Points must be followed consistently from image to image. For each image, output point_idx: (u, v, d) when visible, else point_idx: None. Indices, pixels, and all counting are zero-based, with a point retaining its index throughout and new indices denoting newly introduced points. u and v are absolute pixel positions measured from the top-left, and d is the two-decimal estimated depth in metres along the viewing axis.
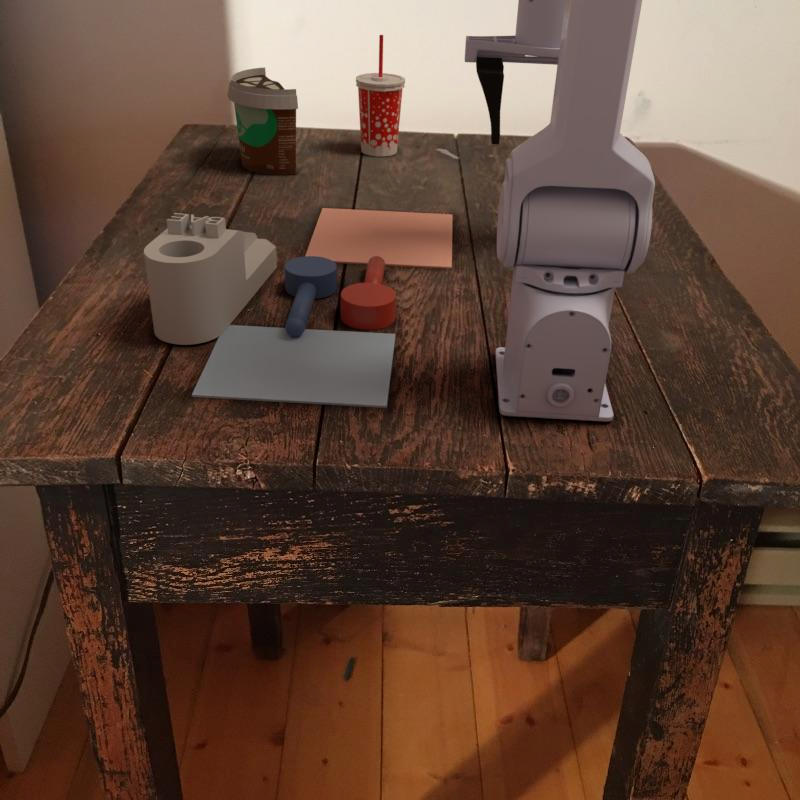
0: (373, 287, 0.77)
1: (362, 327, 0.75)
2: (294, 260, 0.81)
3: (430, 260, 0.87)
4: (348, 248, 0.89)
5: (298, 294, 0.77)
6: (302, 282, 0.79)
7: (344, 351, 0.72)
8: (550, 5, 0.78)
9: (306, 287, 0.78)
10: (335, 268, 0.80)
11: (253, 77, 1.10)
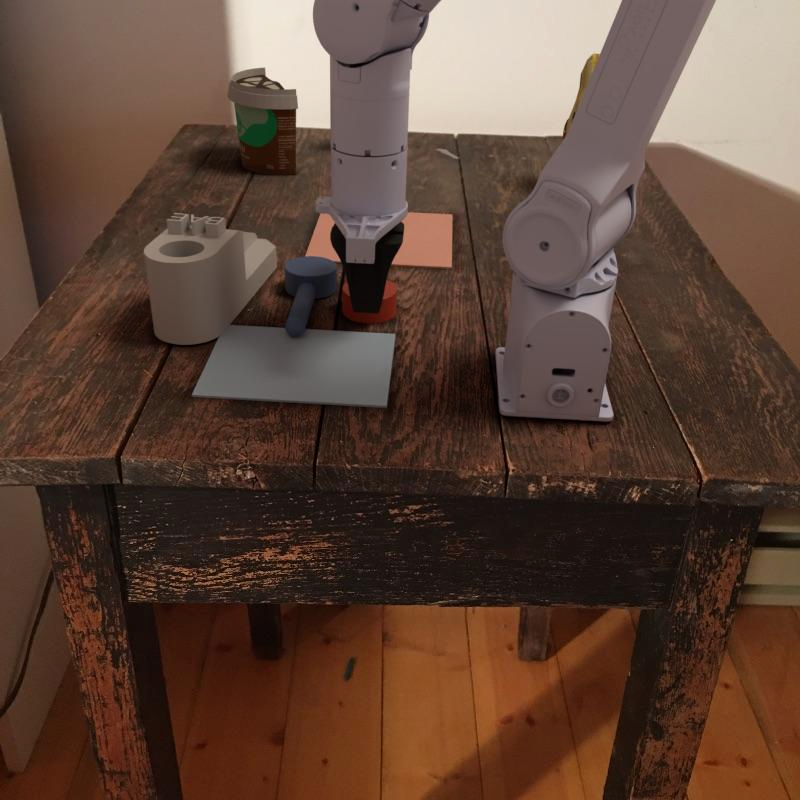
0: None
1: (363, 321, 0.76)
2: (294, 260, 0.81)
3: (430, 260, 0.87)
4: None
5: (298, 294, 0.77)
6: (302, 282, 0.79)
7: (344, 351, 0.72)
8: (406, 161, 0.68)
9: (306, 287, 0.78)
10: (335, 268, 0.80)
11: (253, 77, 1.10)
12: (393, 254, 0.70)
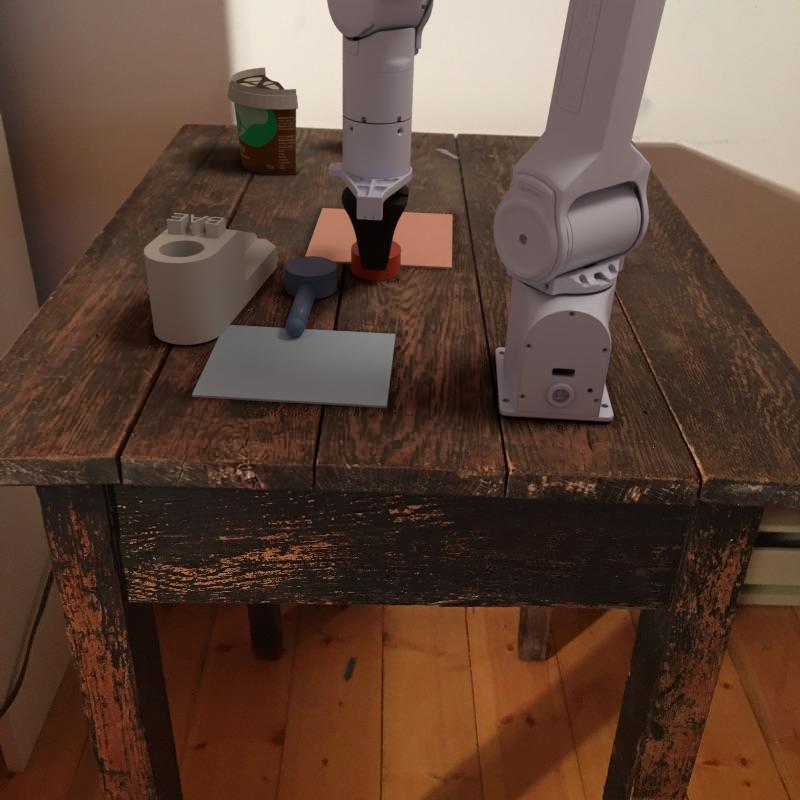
0: None
1: (371, 278, 0.83)
2: (294, 260, 0.81)
3: (430, 260, 0.87)
4: (348, 248, 0.89)
5: (298, 294, 0.77)
6: (302, 282, 0.79)
7: (344, 351, 0.72)
8: (410, 129, 0.75)
9: (306, 287, 0.78)
10: (335, 268, 0.80)
11: (253, 77, 1.10)
12: (399, 214, 0.78)
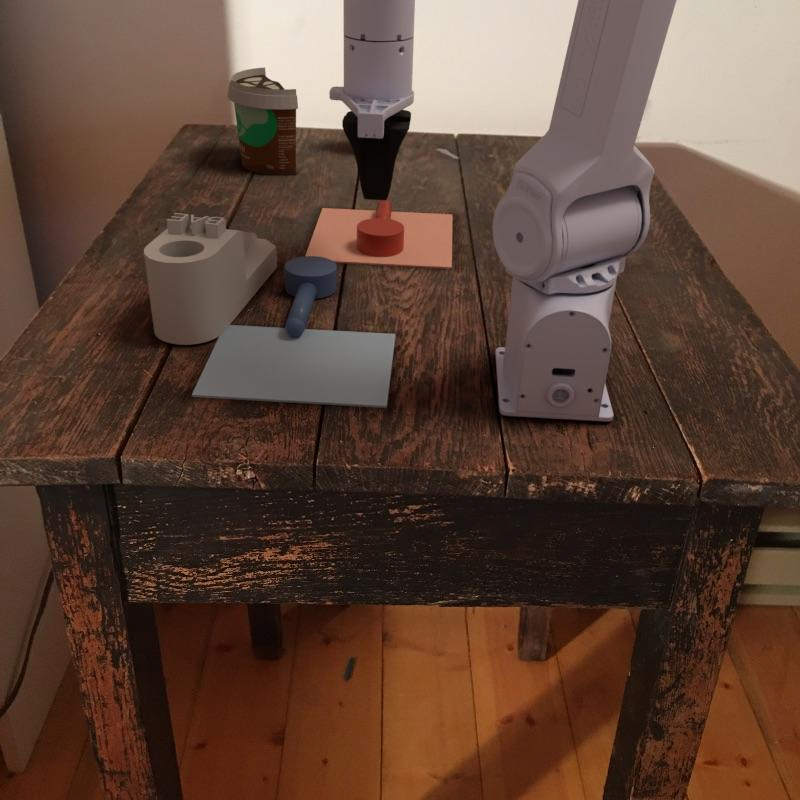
0: (384, 222, 0.89)
1: (376, 254, 0.88)
2: (294, 260, 0.81)
3: (430, 260, 0.87)
4: (348, 248, 0.89)
5: (298, 294, 0.77)
6: (302, 282, 0.79)
7: (344, 351, 0.72)
8: (412, 50, 0.75)
9: (306, 287, 0.78)
10: (335, 268, 0.80)
11: (253, 77, 1.10)
12: (400, 139, 0.76)
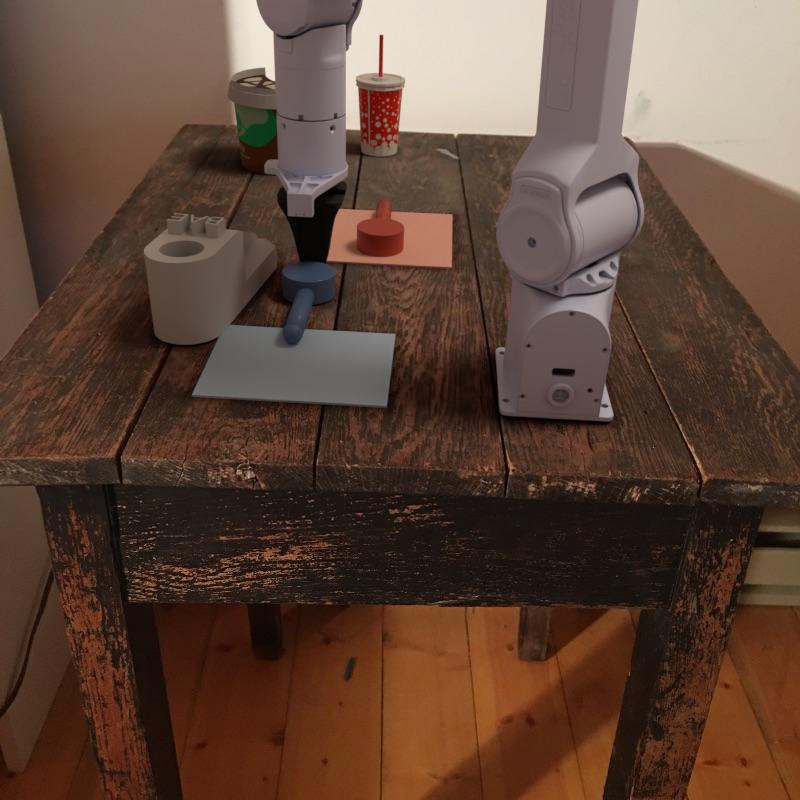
0: (384, 222, 0.89)
1: (376, 254, 0.88)
2: (292, 265, 0.80)
3: (430, 260, 0.87)
4: (348, 248, 0.89)
5: (296, 300, 0.76)
6: (300, 288, 0.78)
7: (344, 351, 0.72)
8: (344, 127, 0.76)
9: (304, 293, 0.77)
10: (333, 273, 0.79)
11: (253, 77, 1.10)
12: (334, 213, 0.78)
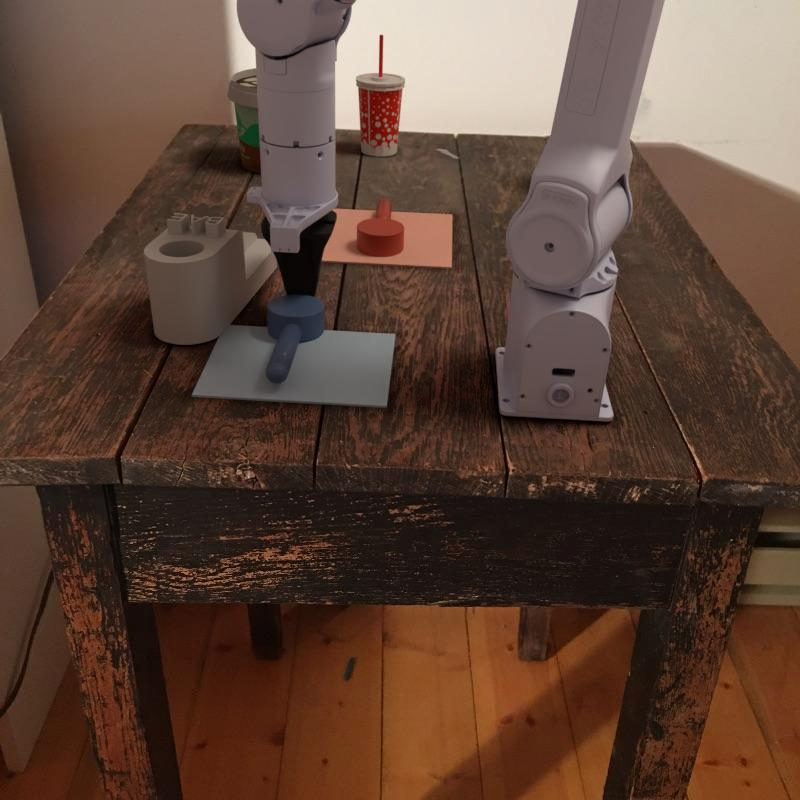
0: (384, 222, 0.89)
1: (376, 254, 0.88)
2: (278, 299, 0.74)
3: (430, 260, 0.87)
4: (348, 248, 0.89)
5: (281, 336, 0.70)
6: (286, 323, 0.72)
7: (344, 351, 0.72)
8: (334, 153, 0.69)
9: (290, 328, 0.71)
10: (322, 307, 0.73)
11: (253, 77, 1.10)
12: (323, 244, 0.71)
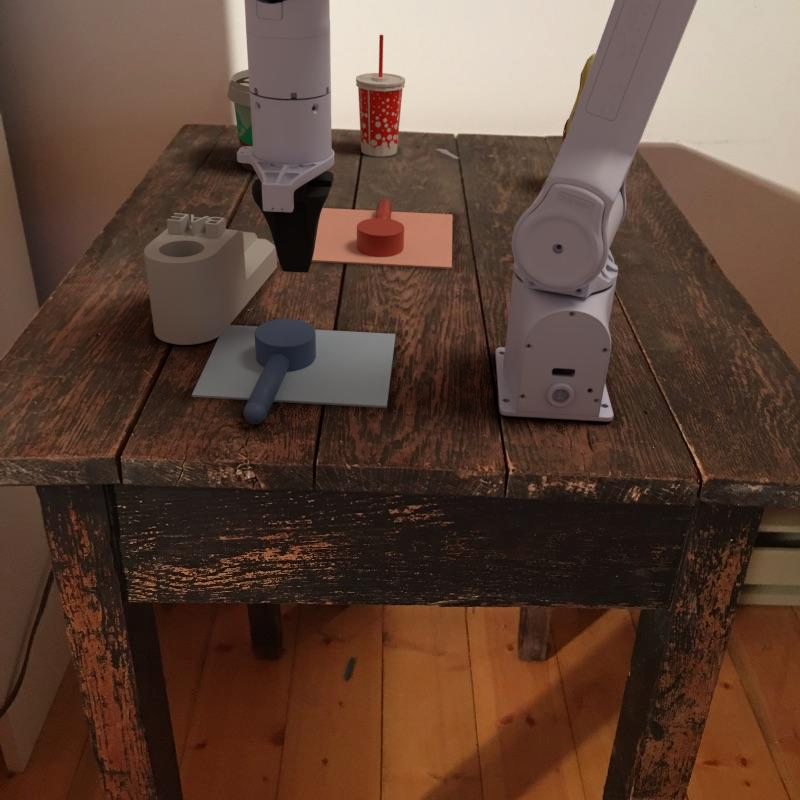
0: (384, 222, 0.89)
1: (376, 254, 0.88)
2: (268, 324, 0.70)
3: (430, 260, 0.87)
4: (348, 248, 0.89)
5: (265, 369, 0.66)
6: (273, 353, 0.68)
7: (344, 351, 0.72)
8: (329, 107, 0.65)
9: (276, 360, 0.67)
10: (313, 336, 0.69)
11: None
12: (318, 208, 0.67)
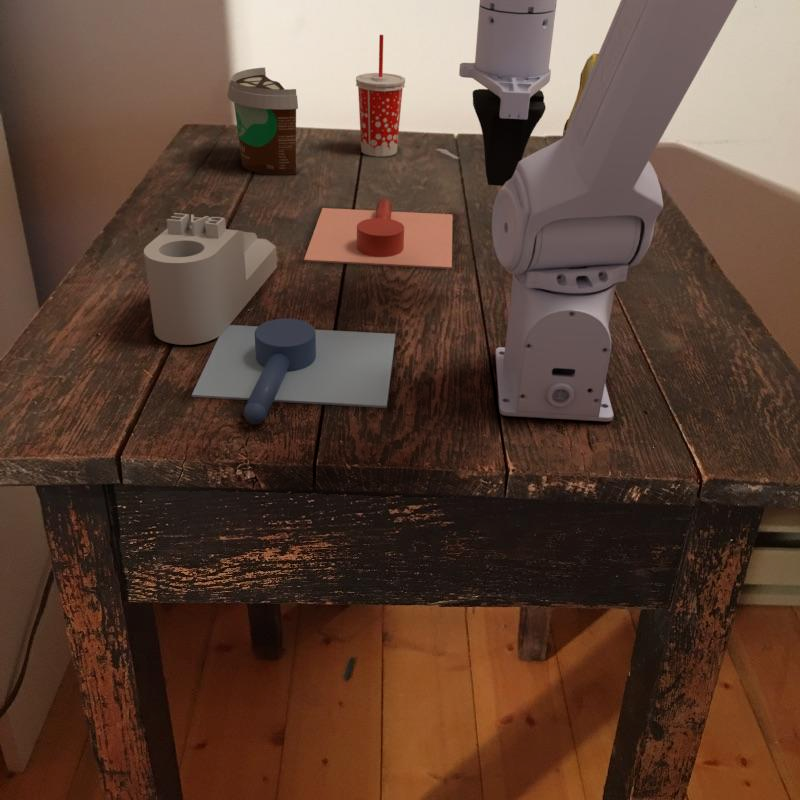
0: (384, 222, 0.89)
1: (376, 254, 0.88)
2: (268, 324, 0.70)
3: (430, 260, 0.87)
4: (348, 248, 0.89)
5: (265, 369, 0.66)
6: (273, 353, 0.68)
7: (344, 351, 0.72)
8: (553, 23, 0.69)
9: (276, 360, 0.67)
10: (313, 336, 0.69)
11: (253, 77, 1.10)
12: (536, 121, 0.71)
